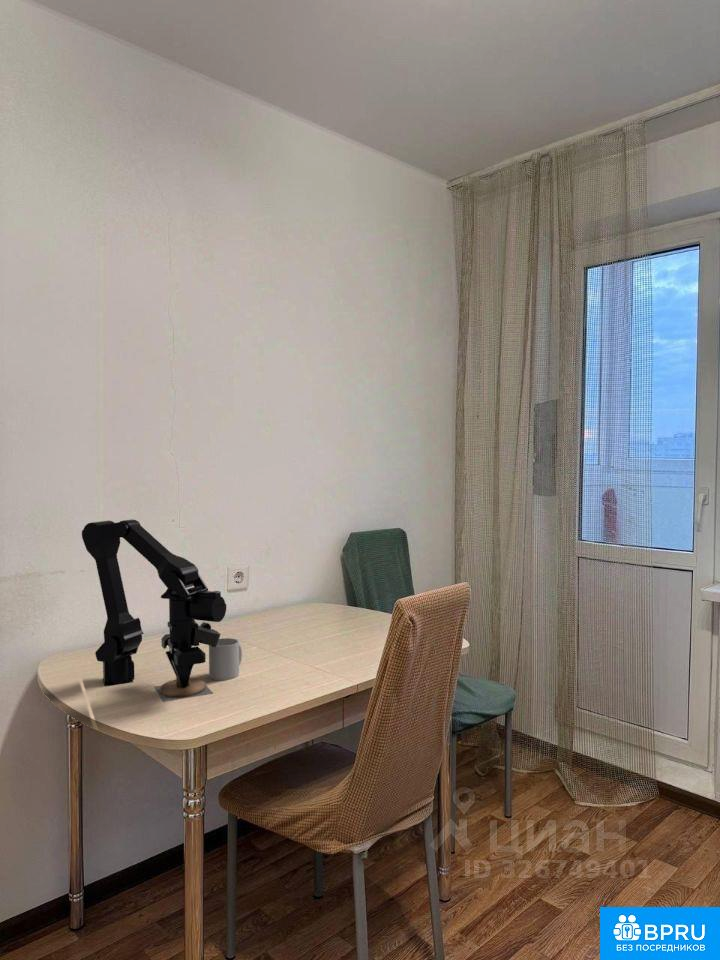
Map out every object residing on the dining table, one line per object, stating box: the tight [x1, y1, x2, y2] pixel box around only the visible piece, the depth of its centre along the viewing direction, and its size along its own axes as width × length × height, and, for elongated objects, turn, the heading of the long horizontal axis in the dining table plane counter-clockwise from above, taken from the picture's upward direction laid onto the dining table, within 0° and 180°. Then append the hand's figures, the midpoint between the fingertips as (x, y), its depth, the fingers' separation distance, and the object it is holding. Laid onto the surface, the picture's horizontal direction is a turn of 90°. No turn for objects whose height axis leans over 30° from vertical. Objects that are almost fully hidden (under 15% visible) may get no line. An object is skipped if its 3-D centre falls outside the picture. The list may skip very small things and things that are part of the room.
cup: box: [208, 637, 243, 681], centre depth 167 cm, size 7×10×9 cm
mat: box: [154, 678, 214, 703], centre depth 155 cm, size 11×11×1 cm
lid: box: [160, 675, 206, 698], centre depth 155 cm, size 10×10×4 cm
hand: (183, 685), depth 155 cm, fingers closed on lid, 3 cm apart
